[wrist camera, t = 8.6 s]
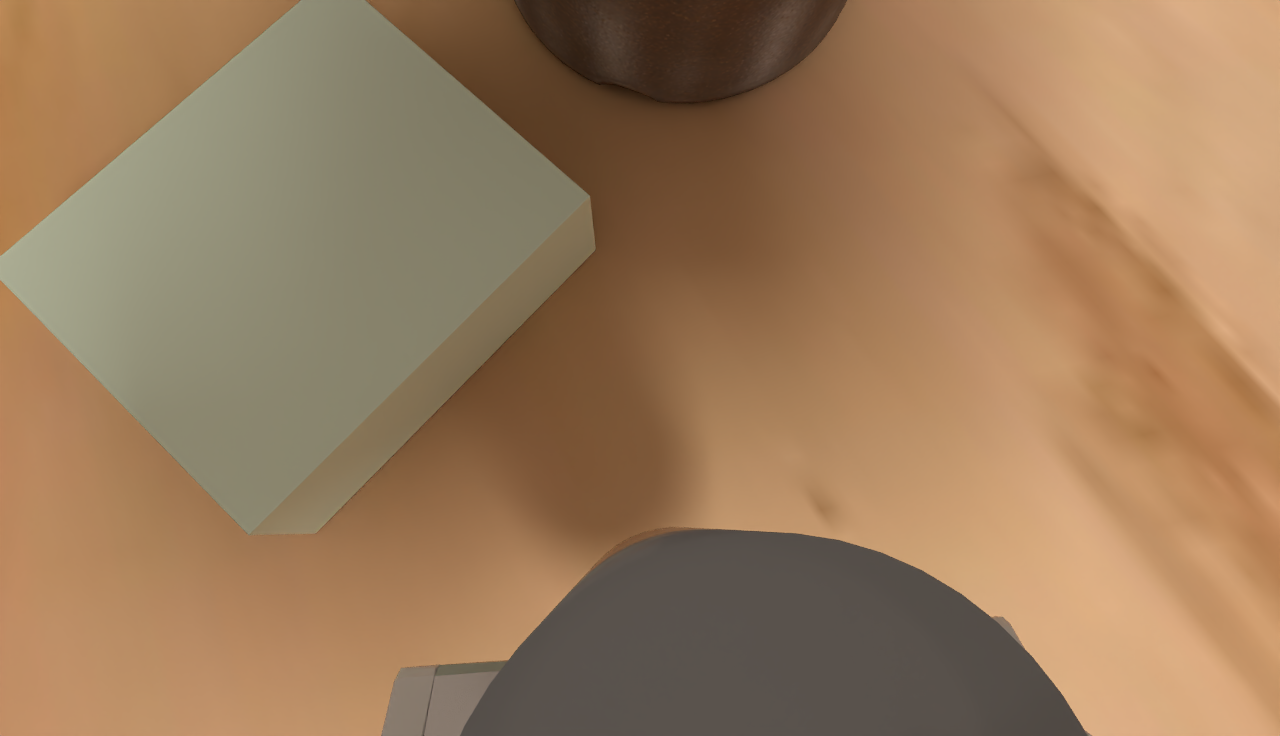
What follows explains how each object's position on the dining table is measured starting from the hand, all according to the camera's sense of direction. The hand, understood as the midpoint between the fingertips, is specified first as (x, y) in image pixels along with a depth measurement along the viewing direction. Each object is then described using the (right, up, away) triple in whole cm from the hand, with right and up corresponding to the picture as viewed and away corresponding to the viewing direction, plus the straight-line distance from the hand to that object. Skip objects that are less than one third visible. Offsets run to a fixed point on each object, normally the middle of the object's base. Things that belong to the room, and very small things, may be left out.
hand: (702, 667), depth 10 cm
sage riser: (-10, +7, +13) cm, 18 cm away
